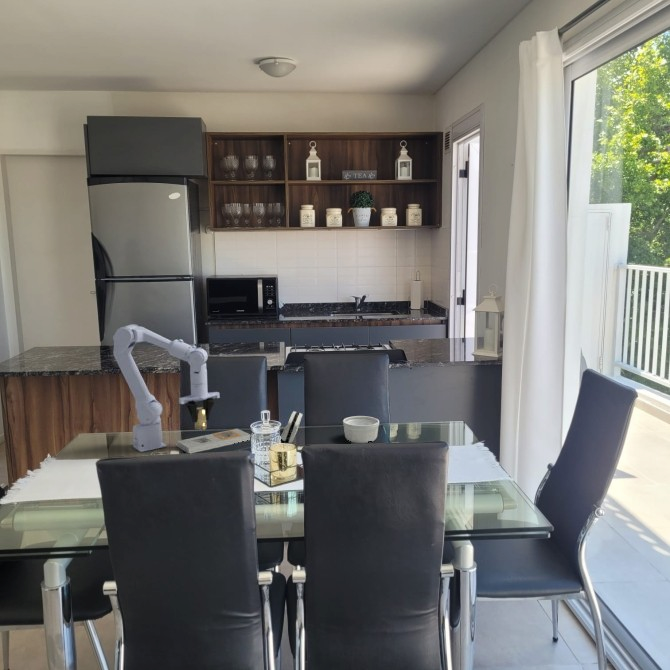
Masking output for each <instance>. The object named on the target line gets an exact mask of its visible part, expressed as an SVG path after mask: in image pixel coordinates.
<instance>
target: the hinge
mask: <svg viewBox="0 0 670 670" xmlns="http://www.w3.org/2000/svg"><path fill="white" fill-rule="evenodd" d="M302 417H303V413H301V412H299V413H298V412H297V411H292V413H291V415H290V418H289V420H288V422H287V425H286V426H284V429H283V431H282V433H281V435H280V436H281V438H282V441H284V442H286V441H287V442H288V443H289V444H291V443H293V441H294V439H295V436H296V434H297V432H298V429H299V427H300V423H301V420H302Z"/></svg>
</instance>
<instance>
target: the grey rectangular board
mask: <svg viewBox="0 0 670 670" xmlns="http://www.w3.org/2000/svg"><path fill="white" fill-rule="evenodd" d="M250 437H251V434H250V433H249V432H245V431H244V430H241V429H239V428H234V429H230V430H229V429H228V430H223V431H220V432H219V431H218V432H214V433H211V434H205V435H199V436H195V437H191V438H187V439H181V440H177V441H176V446H177V448H179V449H181V450H183V451H184V452H185V453H186V454H188V453H190V454H194V453H198V452H203V451H208V450H212V449H217V448H221V447H225V446H230V445H233V444H234V443H235V444H238V442H239V443H243V442H242V441H244V442H248V441H250ZM251 438H252V437H251ZM247 440H248V441H247Z"/></svg>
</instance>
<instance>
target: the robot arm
mask: <svg viewBox="0 0 670 670" xmlns="http://www.w3.org/2000/svg"><path fill="white" fill-rule="evenodd" d="M112 340H113V350H112V352H113V357H114V359H115V361H116V363H117V366H118V367H119V369H120V371H121V373H122V375H123V377H124V380H125V382H126V383H127V385H128V387H129V389H130V392H131V394H132V395H133V398H134V400H135V405H134V406H135V410H136V418H137V420H138V422H139V423H138V424H134V425H133V427H132V440H133V441H132V442H133V445H132V447H133V448H134V449H135V450H137V451H138V452H140V453H142V452H147V451H151V450H156V449H161V448H165V447H167V444H165V443H164V442H163V434H162V433H163V431H162V418H161V415H162V413H163V410H164V409H163V406H162V403H160V402H159V401H158V400H157V399H156V397H155V395H153V394H152V393H150V391H149V388H148V386H147V384H146V383H145V380H144V378H143V377H142V374H141V373H140V370H139V368H138V366H137V364H136V362H135V360H134V358H133V355H132V351H133V349H134V347H135V345H136V344H137V343H143V342H147V343H149V344H152V345H155V346H157V347H160V348H162V349H165V350H167V351H168V352H167V353H168V354H169V355H170V356H172V357H175V358H177V359H179V360H182V361H185V362H187V363H188V365H189V367H190V368H189V370H190V371H189V376H190V379H189V380H190V394H189V395H185V396H183V397H178V404H180V405H185V406H186V408H187V410H188V412H189V415H190V417H191V418H190V419H191V421H192V423H194V424H195V422H197V415H196V411H197V408H198V404H197V403H196V402H200V401H201V402H202V407H204V408H206V421H209V419H210V415H211V411H212V409H213V406H214V404H215V399H220V398H221V397H220V392H218V391H213V392H208V370H207V360H208V357H209V355H208V353H207V351H206V350H205V349H203V348H202V347H197V346H196V345H191V344H188V343H186V342H184V340H183V339H173V340H170V339H168V338H166V337H163V335H160V334H158V333H156V332H154V331H152V330H149V329H148V328H145V326H139V325H138V324H136V323H130V324H128V325H126V326H122V327H121V326H120V327H119V328H117V330H116V331H115V333H114V335H113V336H112Z"/></svg>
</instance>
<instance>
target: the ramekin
mask: <svg viewBox="0 0 670 670" xmlns="http://www.w3.org/2000/svg"><path fill="white" fill-rule="evenodd" d="M342 425H343V431H344V432H343V433H344V437H345V439H346V440H347V441H348V440H349V441H348V442H350V441H351V442H350V443H354V444H367V443H368V441H372V442H374V441H375V440H376V439H377V437H378V432H379V426H380V420H379V419H378V418H375V417H372V416H365V415H356V416H355V415H354V416H349V417H345V418H344V419H343V420H342ZM368 444H369V443H368Z"/></svg>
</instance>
